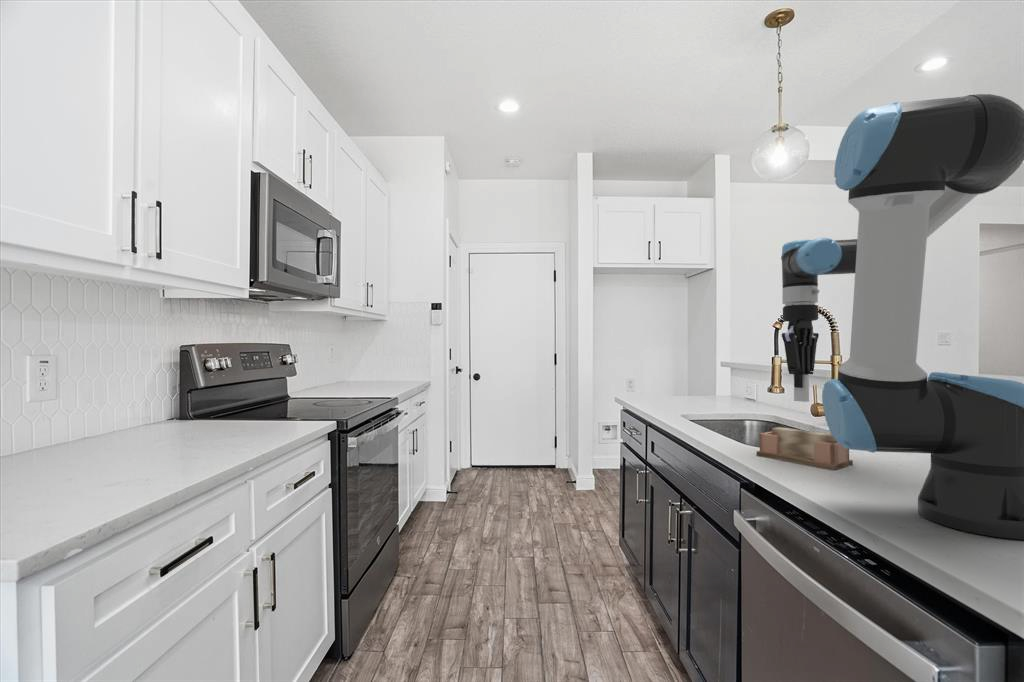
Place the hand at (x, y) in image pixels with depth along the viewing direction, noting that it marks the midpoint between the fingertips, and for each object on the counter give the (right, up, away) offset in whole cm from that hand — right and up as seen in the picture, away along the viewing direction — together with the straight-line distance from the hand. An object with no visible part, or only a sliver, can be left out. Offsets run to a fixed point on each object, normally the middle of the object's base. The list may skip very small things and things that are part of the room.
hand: (801, 401), depth 119 cm
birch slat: (0, -13, 0) cm, 13 cm away
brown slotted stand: (0, -13, 0) cm, 13 cm away
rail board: (0, -14, 0) cm, 14 cm away
